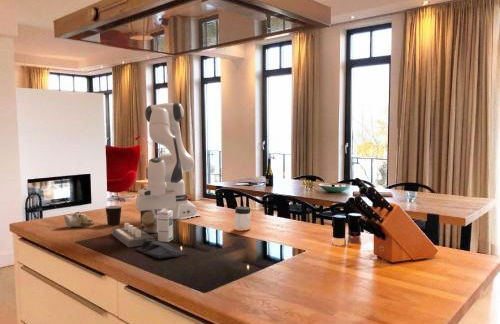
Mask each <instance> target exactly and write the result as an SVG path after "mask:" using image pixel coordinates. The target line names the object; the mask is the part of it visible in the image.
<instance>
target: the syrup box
mask: <svg viewBox="0 0 500 324" xmlns="http://www.w3.org/2000/svg"><path fill="white" fill-rule="evenodd" d="M157 214H158V232H157V241H159V242H162V243H169V242H171V241H172V240H174V219H173V210H165V209H162V211H159V212H157Z"/></svg>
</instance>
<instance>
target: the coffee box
mask: <svg viewBox="0 0 500 324" xmlns="http://www.w3.org/2000/svg"><path fill="white" fill-rule="evenodd" d="M157 212H159V211H158V209H155V212H154V213H155V214H157ZM139 220H140V221H139V222H140V224H139V225H140V228H139V229H141V230H143V231H144V232H146V233H154V234H155V233H157V234H158V218H153V214H152V212H151V210H144V211H140V219H139Z"/></svg>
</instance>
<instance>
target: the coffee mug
mask: <svg viewBox="0 0 500 324" xmlns="http://www.w3.org/2000/svg"><path fill="white" fill-rule="evenodd" d="M122 208H123V207H122V205H107V206H105V213H106V221H107V226H109V225H112V226H111V227H116V225H117V226H119V224H121V216H122Z"/></svg>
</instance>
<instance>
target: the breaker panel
mask: <svg viewBox="0 0 500 324" xmlns="http://www.w3.org/2000/svg"><path fill="white" fill-rule="evenodd" d="M133 227H136V228H137V230H141V229H140V228H139V227H138V226H134V225H133ZM111 230H112V234H111V235H112V236H113V237H114V238H116V239H117V240H118V241H120V242H121V243H122V244H124V245H125V246H126V247H127V248H135V247H142V244H143V242H144V239H150V240H155V237H154V236H153V235H151V234H150V233H149V232H144V231H143V230H141V237H138V238H137V237H136V236H135V235H133V234H131V232H128V230H125V229H124V227H120V228H112V229H111Z"/></svg>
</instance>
